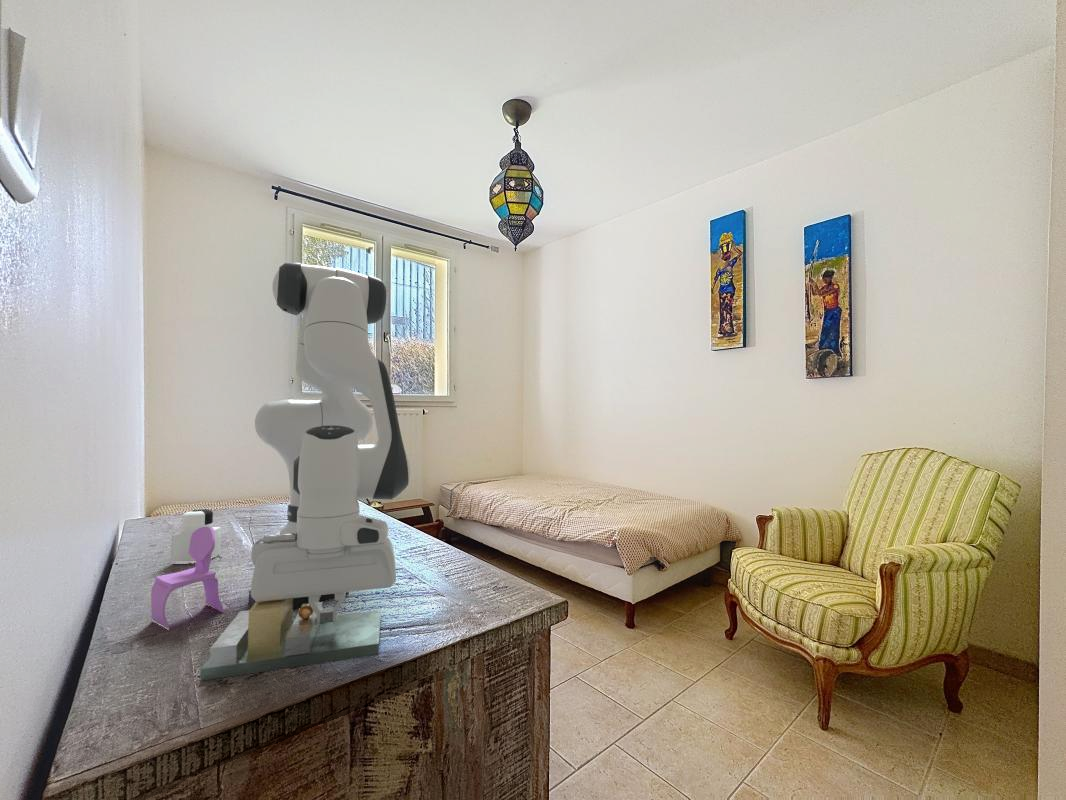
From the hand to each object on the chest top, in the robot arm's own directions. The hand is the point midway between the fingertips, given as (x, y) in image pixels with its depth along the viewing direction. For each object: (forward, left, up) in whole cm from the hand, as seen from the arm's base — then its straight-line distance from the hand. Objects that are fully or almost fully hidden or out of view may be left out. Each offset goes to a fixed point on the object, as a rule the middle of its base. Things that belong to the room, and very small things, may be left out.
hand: (327, 621), depth 68 cm
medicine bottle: (-54, -36, -3) cm, 65 cm away
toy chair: (-17, -24, -3) cm, 30 cm away
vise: (0, -3, -3) cm, 4 cm away
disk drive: (-20, -7, -4) cm, 22 cm away
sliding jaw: (0, -3, -1) cm, 3 cm away
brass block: (0, -7, -2) cm, 8 cm away
